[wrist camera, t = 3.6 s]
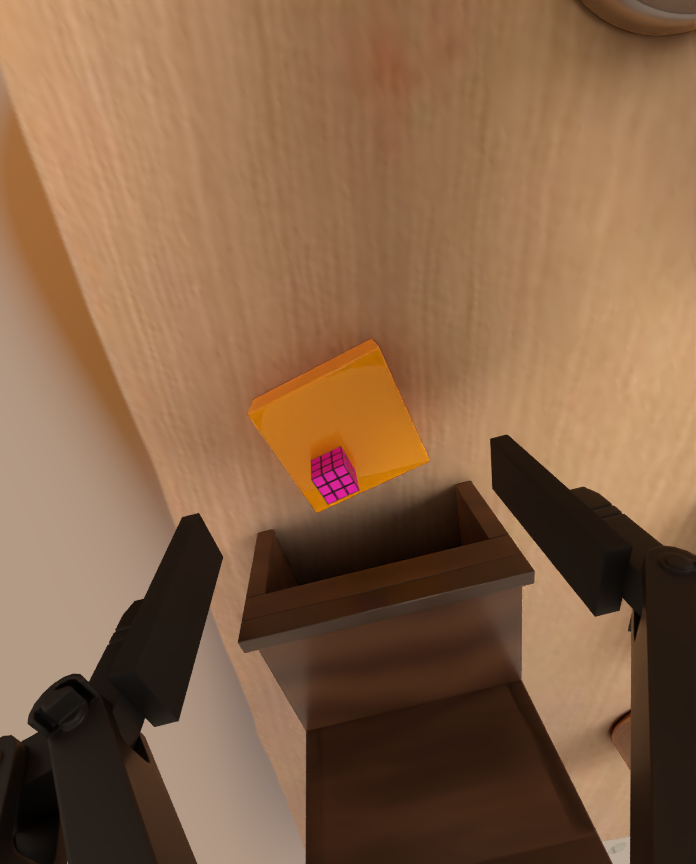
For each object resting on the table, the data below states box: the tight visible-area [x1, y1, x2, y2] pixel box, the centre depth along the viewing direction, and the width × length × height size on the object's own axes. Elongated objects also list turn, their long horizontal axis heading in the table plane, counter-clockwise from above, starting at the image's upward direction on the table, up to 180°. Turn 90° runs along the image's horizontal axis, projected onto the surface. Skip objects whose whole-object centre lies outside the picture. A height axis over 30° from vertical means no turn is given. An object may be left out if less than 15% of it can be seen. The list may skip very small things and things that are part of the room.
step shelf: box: [238, 481, 612, 864], centre depth 22 cm, size 23×16×20 cm
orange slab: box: [248, 339, 430, 513], centre depth 21 cm, size 8×8×4 cm
